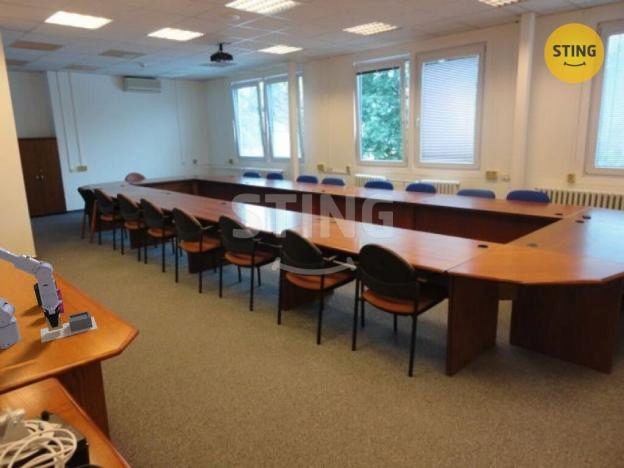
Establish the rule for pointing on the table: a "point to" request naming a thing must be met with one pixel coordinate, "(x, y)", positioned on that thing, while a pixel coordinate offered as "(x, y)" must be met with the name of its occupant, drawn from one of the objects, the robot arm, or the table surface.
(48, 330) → the ochre block
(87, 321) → the charcoal base block
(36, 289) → the pen holder
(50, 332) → the build board
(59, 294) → the supplement box
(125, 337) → the table surface
